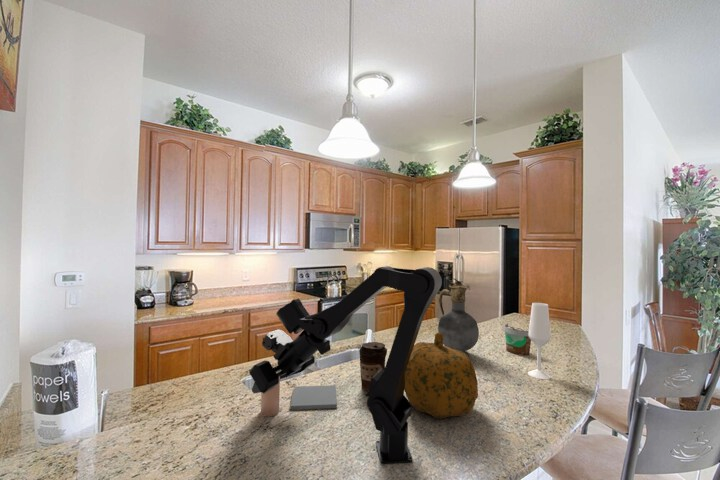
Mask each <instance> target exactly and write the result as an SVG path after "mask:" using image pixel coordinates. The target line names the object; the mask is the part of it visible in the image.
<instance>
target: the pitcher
mask: <svg viewBox="0 0 720 480" xmlns="http://www.w3.org/2000/svg"><path fill="white" fill-rule="evenodd" d="M452 279H453V280H454V281H455V282H453V281H451V282H450V281H449V285H448V287H449V288H450V290H449V289H447V288H446V289H445V288H444V289H442V290H441V291H440V292H439V294H438V303H439V308H440V311H441V314H442V315H441V317H440V318H439V320H438V324H437V333H442V334H443V346H447V347H449V348H451V349H454V350H458V351H462V352H464V353H465V354H466V355H467V356H468V355H469V354H468V352H467V351H469V350H471V349H473V348H474V346H476V344H477V342H478V340H479V337H480V330H479V325H478V323H477V320H476V319H475V318H474V317H473V316H472V315H471V314H470V313H468V312H466V311H465V310H466V309H465V308H466V307H465V306H466V305H465V304H466V303H465V302H466V293H467V290H469V291H471V290H472V288H471V286H470V285H464V284H463V281H462V280H458V279H457V278H454V277H453V278H452ZM445 294H447V295H448V296H450V300H451V301H450V302H451V310H449V311H447V312H446V313H445V311H444V308H443V296H444V295H445Z"/></svg>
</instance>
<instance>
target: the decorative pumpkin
mask: <svg viewBox="0 0 720 480" xmlns="http://www.w3.org/2000/svg"><path fill="white" fill-rule="evenodd" d="M404 394H405V397H406V398H407V399H408V401H409V402H410V403H411V405H412V406H413V408H414V409H417V410H418V411H419V412H422V413H427V414H428V415H431V416H432V417H433V418H434V419H435V418H436V419H438V420H441V419H445V418H449V417H461V416H465V415H468V414H469V413H471V412H472V410H473V409H474V407H475V403H476V400H477V399H478V397H479V386H478V379H477V375H476V369H475V367H474V363H473V361H472V360H471V358H470V357H469V356H468V354H467V355H466V354H465V353H464V352H462V351H458V350H454V349H451V348H449V347H447V346H445V345H444V344H443V334H442V333H438V332H436V333H435V334H434V342H424V341H421V342H417V343H416V342H415V344H414V347H413V350H412V353H411V356H410V359H409V362H408V365H407V368H406V371H405V389H404Z"/></svg>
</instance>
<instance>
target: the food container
mask: <svg viewBox="0 0 720 480" xmlns="http://www.w3.org/2000/svg"><path fill="white" fill-rule="evenodd" d="M503 332H504V338H505V339H504V340H505V349H506V351H507V352H508V353H510V354H513V355H517V356H530V354H531V353H530V352H531V345H532V344H531V343H532V341H531V339H530V338H529V336H528V333H529V330H524V329H522V328H519V327H512V326H509V323H506V324H504V326H503Z"/></svg>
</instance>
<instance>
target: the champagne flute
mask: <svg viewBox="0 0 720 480" xmlns="http://www.w3.org/2000/svg"><path fill="white" fill-rule="evenodd" d="M549 312H550V310H549V304H548V303H544V302H532V304H531V309H530V317H529V326H528V327H529V328H528V331H529V333H528V336H529V338H530V339H531V343H533V344H534V345H535V346H537V347H536V348H537V352H536V353H537V355H536V369H533V370H529V371H528V372H527V374H528V375H529V376H530V377H532V378H536V379H538V380H539V379H540V380H549V379H550V378H551V376H550V375H549V374H548V373H547V372H545V371H544V370H542V347H544V346H546V345H547V344H549V342H550V341H551V339H552V335H551V333H552V332H551V331H552V330H551V324H550V323H551V322H550V313H549Z"/></svg>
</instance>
